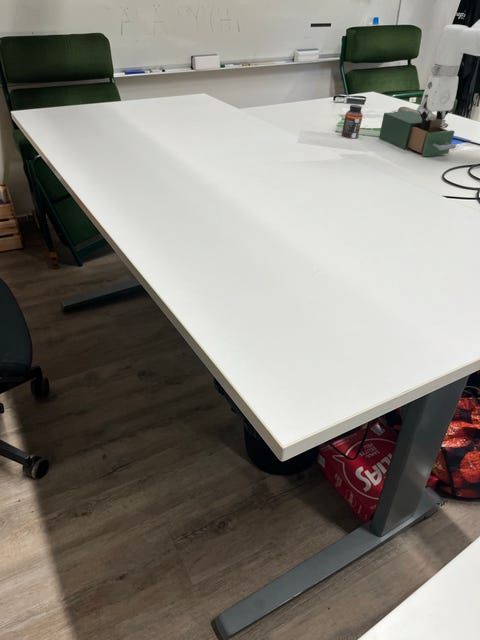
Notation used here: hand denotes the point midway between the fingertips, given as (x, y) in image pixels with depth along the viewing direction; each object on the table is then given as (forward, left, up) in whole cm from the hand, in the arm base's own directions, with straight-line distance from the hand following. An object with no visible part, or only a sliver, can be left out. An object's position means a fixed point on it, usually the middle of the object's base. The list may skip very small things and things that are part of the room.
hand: (429, 131), depth 160 cm
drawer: (0, +1, -6) cm, 6 cm away
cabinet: (0, -11, -7) cm, 13 cm away
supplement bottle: (+17, -21, -7) cm, 28 cm away
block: (0, 0, 0) cm, 0 cm away
